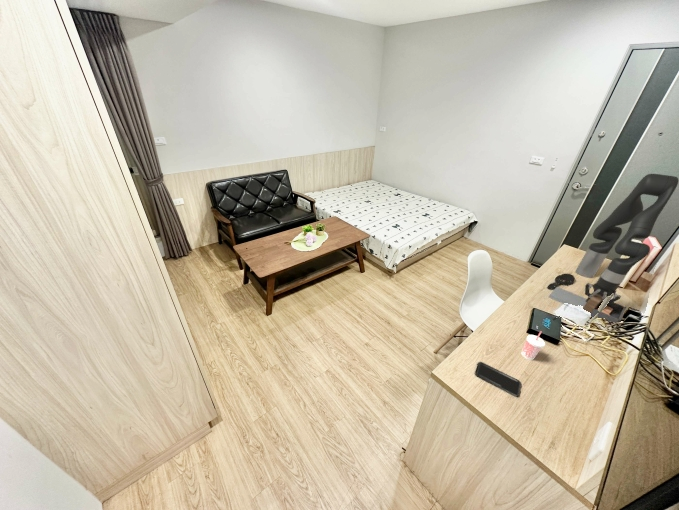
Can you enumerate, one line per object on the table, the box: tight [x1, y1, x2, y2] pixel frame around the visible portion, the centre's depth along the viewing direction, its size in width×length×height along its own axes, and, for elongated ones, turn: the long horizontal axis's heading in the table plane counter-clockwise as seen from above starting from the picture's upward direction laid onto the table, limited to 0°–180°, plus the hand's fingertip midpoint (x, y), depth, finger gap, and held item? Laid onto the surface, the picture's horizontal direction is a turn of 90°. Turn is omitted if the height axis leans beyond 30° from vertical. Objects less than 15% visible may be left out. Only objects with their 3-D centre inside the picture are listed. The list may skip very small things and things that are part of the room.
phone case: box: [557, 315, 596, 343], centre depth 124 cm, size 7×1×15 cm
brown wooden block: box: [583, 294, 603, 313], centre depth 134 cm, size 14×4×6 cm, turn 122°
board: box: [548, 286, 587, 307], centre depth 141 cm, size 12×18×2 cm, turn 38°
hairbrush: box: [546, 272, 576, 291], centre depth 156 cm, size 8×4×25 cm
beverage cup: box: [521, 330, 546, 361], centre depth 106 cm, size 6×6×14 cm
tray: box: [591, 302, 627, 323], centre depth 131 cm, size 16×10×5 cm, turn 128°
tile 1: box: [597, 306, 613, 314], centre depth 134 cm, size 5×5×2 cm
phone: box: [474, 361, 522, 398], centre depth 99 cm, size 8×1×15 cm
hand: (592, 305), depth 135 cm, fingers closed on brown wooden block, 3 cm apart
